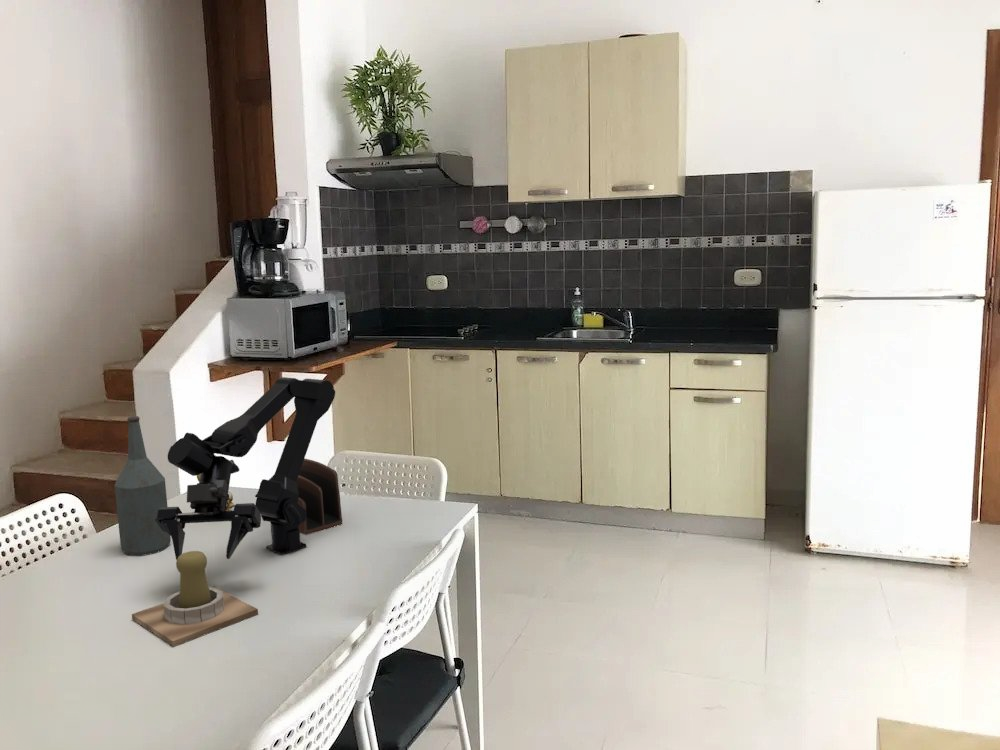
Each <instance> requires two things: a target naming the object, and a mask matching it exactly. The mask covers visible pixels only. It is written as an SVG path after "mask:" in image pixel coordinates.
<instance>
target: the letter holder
mask: <svg viewBox="0 0 1000 750" xmlns="http://www.w3.org/2000/svg"><path fill="white" fill-rule="evenodd" d="M297 487H298V493H299V496H298V501H297V504H299V505H300V506H301V507H302V508H304V509H305V510H306V511H307V515H306V520H305V521H304V522H302V523H301V524H300V525H299V531H300V534H304V535H306V536H307V535H311V534H314V533H317V532H321V531H324V529H325V530H328V529H332V528H335V527H338V526H337V525H339V526H342V525H343V516H342V515H343V514H342V506H341V505H342V504H341V495H340V487H339V477H338V473H337V471H336V470H334V469H333V468H331V467H329V466H328V465H327V464H324V463H322V462H318V461H317V460H313V459H310V458H306V457H305V458H304V461H303V464H302V467H301V470H300V472H299V475H298V478H297ZM341 524H342V525H341ZM334 526H335V527H334ZM331 527H332V528H331Z"/></svg>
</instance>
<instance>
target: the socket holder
mask: <svg viewBox="0 0 1000 750" xmlns="http://www.w3.org/2000/svg"><path fill="white" fill-rule="evenodd" d="M209 590H210V594H211V599H212V602H210V603H208V604H205V605H202V606H199V607H193V608H186V609H185V608H179V593H180V591H177V592H175V593H172V594H171V595H170V596H168V597H167V598H165V599H164V601H163V603H161V604H158V605H154V606H152V607H148V608H146V609H142V610H140V611H137V612H134V613H131V620H132V619H133V622H135V621H136V622H135V623H137V624H138V623H139V625H140V626H141V625H142V628H144V627H145V628H144V629H146V628H147V629H148V630H147V629H146V630H147V631H149V630H150V631H151V633H152V632H153V633H154V634H153V633H152V634H153V635H155V636H156V635H157V636H156V637H158V638H159V637H160V639H161V640H162V639H163V640H162V641H164V642H165V641H166V643H167V644H168V645H169V646H171V647H177V646H179V645H181V644H184V643H186V642H190V641H192V640H194V639H197V638H200V637H202V636H205V635H207V633H208V634H211V633H213V632H216V631H218V630H221V629H223V628H226V627H228V626H231V625H235V624H236V623H239V622H241V621H245V620H247V619H249V618H251V617H255V616H258V615H259V609H258V608H257V607H256V606H255V607H254V606H253V605H251V604H250V603H249V604H248V603H247V602H245V601H244V600H241V599H239V598H237V597H235V596H233V594H230V593H228V592H227V591H224V590H222V589H220V588H219V587H216V586H215V585H212V586H209ZM220 628H221V629H220ZM215 630H216V631H215ZM150 631H149V632H150ZM210 632H211V633H210ZM204 634H205V635H204Z"/></svg>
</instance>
